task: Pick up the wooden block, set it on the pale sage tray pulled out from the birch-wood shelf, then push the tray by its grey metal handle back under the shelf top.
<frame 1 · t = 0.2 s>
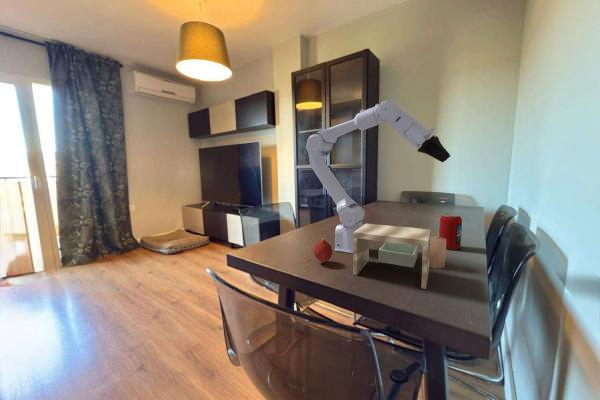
hand: (447, 159, 71), 31 cm above the table, tool tilted 45°, fingers open, 7 cm apart
onion: (323, 263, 78), on the table
tray: (399, 251, 80), point 2 cm above the table, slide at 11.0 cm
wooden block: (434, 264, 74), on the table
shelf: (391, 272, 69), on the table
beverage can: (449, 247, 89), on the table
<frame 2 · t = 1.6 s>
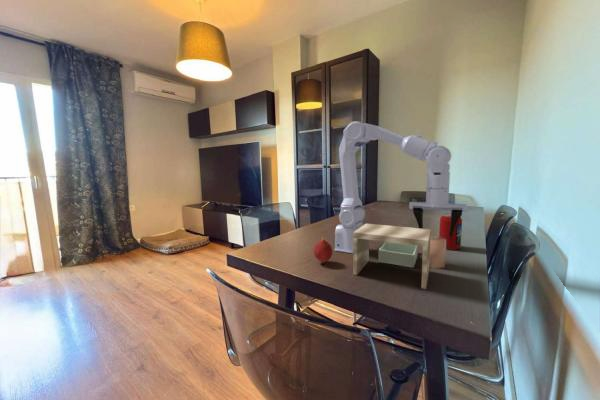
hand: (435, 234, 73), 9 cm above the table, tool pointing down, fingers open, 7 cm apart
nothing on the table moved.
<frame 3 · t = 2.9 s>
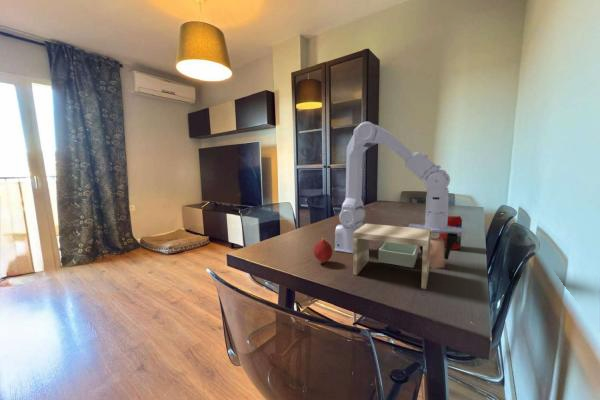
hand: (434, 256, 74), 2 cm above the table, tool pointing down, fingers closed on wooden block, 6 cm apart
wooden block: (434, 264, 74), on the table, touching gripper
everything else where it was.
when the fingers open (5 cm above the table, at t = 9.2 s): wooden block drops 1 cm, resting on tray.
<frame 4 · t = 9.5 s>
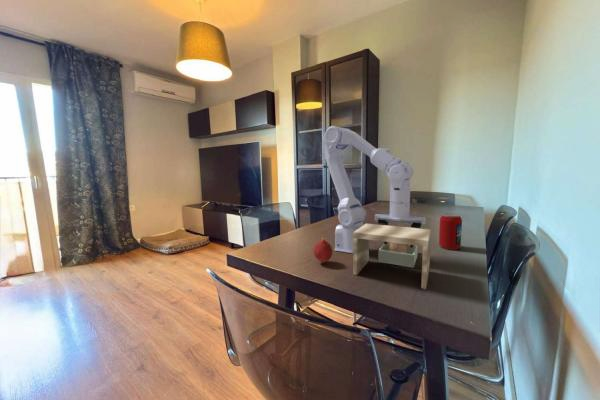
hand: (398, 244, 78), 5 cm above the table, tool pointing down, fingers open, 7 cm apart
tray: (399, 251, 80), point 2 cm above the table, slide at 11.0 cm, touching wooden block
wooden block: (398, 256, 78), point 1 cm above the table, touching tray
everything else where it was.
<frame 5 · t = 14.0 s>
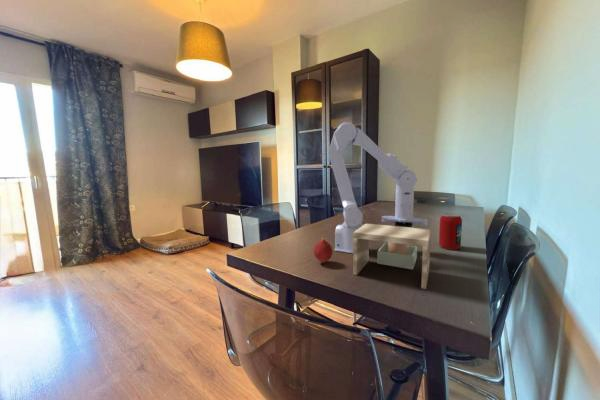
hand: (403, 243, 87), 3 cm above the table, tool pointing down, fingers closed, pressing on tray
tray: (398, 252, 79), point 2 cm above the table, slide at 9.6 cm, touching gripper, wooden block
wooden block: (397, 258, 77), point 1 cm above the table, touching tray
everything else where it was.
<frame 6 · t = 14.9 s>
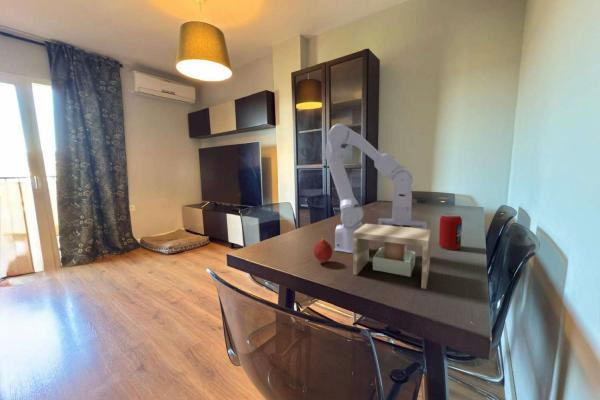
hand: (400, 247, 82), 3 cm above the table, tool pointing down, fingers closed, pressing on tray
tray: (395, 257, 75), point 2 cm above the table, slide at 4.3 cm, touching gripper, wooden block
wooden block: (394, 264, 73), point 1 cm above the table, touching tray
everything else where it was.
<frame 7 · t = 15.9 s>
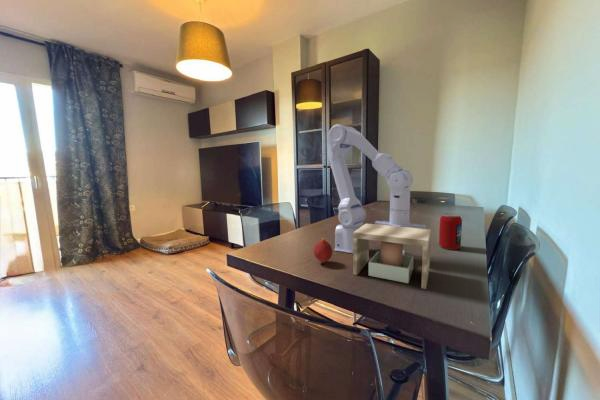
hand: (398, 251, 78), 3 cm above the table, tool pointing down, fingers closed, pressing on tray
tray: (393, 262, 71), point 2 cm above the table, slide at -0.1 cm, touching gripper, wooden block
wooden block: (391, 269, 69), point 1 cm above the table, touching tray
everything else where it was.
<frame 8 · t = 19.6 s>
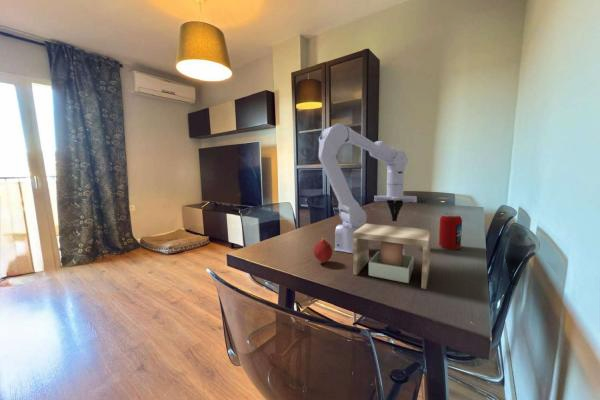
hand: (394, 220, 92), 9 cm above the table, tool pointing down, fingers closed
tray: (393, 262, 71), point 2 cm above the table, slide at 0.0 cm, touching wooden block
everything else where it was.
at the end: tray slide at 0.0 cm; wooden block inside the target area on the shelf (0.0 cm from its centre), point 1.0 cm above the shelf's base; wooden block tilted 0° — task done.
